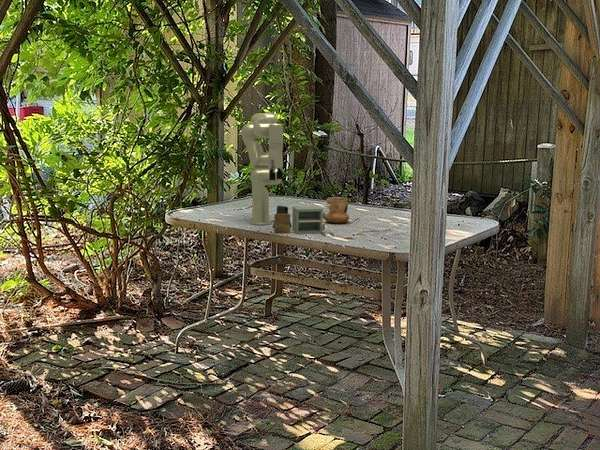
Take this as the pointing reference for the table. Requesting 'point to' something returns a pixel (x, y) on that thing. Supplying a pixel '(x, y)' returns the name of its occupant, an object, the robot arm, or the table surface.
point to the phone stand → (282, 211)
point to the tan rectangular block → (281, 223)
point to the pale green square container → (308, 220)
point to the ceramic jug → (337, 210)
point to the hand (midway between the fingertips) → (276, 179)
